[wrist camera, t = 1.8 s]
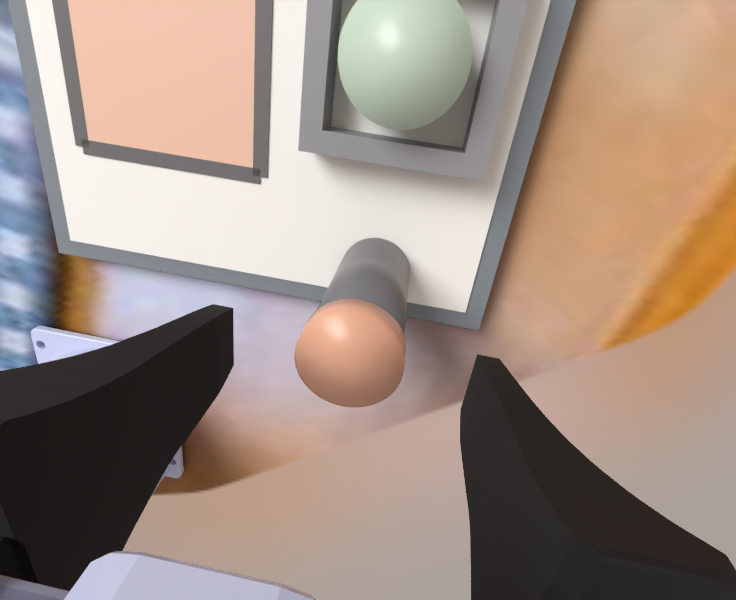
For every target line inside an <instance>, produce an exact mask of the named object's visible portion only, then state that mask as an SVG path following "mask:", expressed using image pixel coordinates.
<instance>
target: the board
mask: <svg viewBox="0 0 736 600" xmlns="http://www.w3.org/2000/svg"><path fill="white" fill-rule="evenodd" d="M357 1H358V0H8V3H9V8H10V13H11V18H12V22H13V27H14V32H15V37H16V42H17V47H18V52H19V57H20V62H21V67H22V72H23V77H24V82H25V87H26V92H27V97H28V102H29V107H30V111H31V116H32V121H33V126H34V131H35V136H36V141H37V146H38V151H39V156H40V161H41V166H42V171H43V176H44V181H45V186H46V191H47V196H48V200H49V205H50V210H51V215H52V220H53V225H54V230H55V235H56V240H57V245H58V250H59V253H63V254H69V255H74V256H80V257H85V258H90V259H96V260H101V261H107V262H112V263H117V264H123V265H128V266H134V267H139V268H144V269H150V270H155V271H161V272H166V273H171V274H177V275H182V276H188V277H193V278H198V279H204V280H209V281H215V282H220V283H225V284H231V285H236V286H242V287H247V288H252V289H258V290H263V291H269V292H274V293H279V294H285V295H290V296H296V297H301V298H306V299H312V300H317V301H322V299H323V297H324V295H325V293H326V291H327V289H328V287H329V285H330V283H331V281H332V279H333V277H334V275H335V273H336V271H337V269H338V267H339V265H340V263H341V261H342V259H343V257H344V255H345V253H346V251H347V250H348V249H349V248H350V247H351V246H352V245H353V244H355V243H356V242H358V241H360V240H363V239H366V238H381V239H385V240H388V241H390V242H392V243H394V244H395V245H397V246H398V247H399V248H400V249H401V250H402V251H403V252H404V254H405V255H406V257H407V259H408V262H409V265H410V279H409V288H408V298H407V308H406V317H409V318H414V319H420V320H425V321H431V322H436V323H441V324H447V325H452V326H458V327H463V328H468V329H474V330H479V328H480V325H481V321H482V318H483V315H484V311H485V308H486V304H487V301H488V298H489V294H490V291H491V287H492V284H493V281H494V277H495V274H496V271H497V267H498V264H499V260H500V257H501V254H502V250H503V247H504V244H505V240H506V237H507V233H508V230H509V227H510V223H511V220H512V216H513V213H514V210H515V206H516V203H517V200H518V196H519V193H520V189H521V186H522V183H523V179H524V176H525V173H526V169H527V166H528V162H529V159H530V156H531V152H532V149H533V145H534V142H535V139H536V135H537V132H538V129H539V125H540V122H541V118H542V115H543V112H544V108H545V105H546V102H547V98H548V95H549V91H550V88H551V85H552V81H553V78H554V74H555V71H556V68H557V64H558V61H559V58H560V54H561V51H562V47H563V44H564V41H565V37H566V34H567V30H568V27H569V24H570V20H571V17H572V14H573V10H574V7H575V3H576V0H457V2H458V3H459V5H460V6H461V8H462V9H463V11H464V13H465V16H466V18H467V20H468V23H469V26H470V31H471V36H472V46H473V52H472V63H471V69H470V72H469V76H468V79H467V82H466V84H465V86H464V89H463V90H462V92H461V94H460V96H459V97H458V99H457V100H456V101H455V103H454V104H453V105H452V106H451V107H450V109H449V110H448V111H447V112H445V113H444V114H443V115H442V116H441V117H439V118H438V119H436V120H435V121H433V122H431V123H429V124H427V125H425V126H422V127H419V128H415V129H410V130H395V129H390V128H385V127H383V126H380V125H377V124H376V123H374V122H372V121H370V120H369V119H367V118H366V117H365V116H363V115H362V114H361V113H360V112H359V111H358V110H357V109H356V107H355V106H354V105H353V104H352V102H351V101H350V99H349V97H348V96H347V94H346V92H345V89H344V87H343V85H342V81H341V78H340V74H339V68H338V45H339V38H340V34H341V31H342V27H343V25H344V22H345V20H346V18H347V16H348V14H349V12H350V10H351V9H352V7H353V6H354V5H355V3H356V2H357Z"/></svg>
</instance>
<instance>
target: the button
mask: <svg viewBox="0 0 736 600" xmlns="http://www.w3.org/2000/svg"><path fill="white" fill-rule="evenodd" d="M472 52H473V46H472V36H471V31H470V26H469V23H468V20H467V18H466V16H465V13H464V11H463V9H462V8H461V6H460V5H459V3H458V2H457V0H358V1H357V2H356V3H355V5H354V6H353V7H352V9H351V10H350V12H349V14H348V16H347V18H346V20H345V22H344V25H343V27H342V31H341V34H340V38H339V45H338V68H339V74H340V78H341V81H342V85H343V87H344V89H345V92H346V94H347V96H348V97H349V99H350V101H351V102H352V104H353V105H354V106H355V107H356V109H357V110H358V111H359V112H360V113H361V114H362V115H363V116H365V117H366V118H367V119H369V120H370V121H372V122H374V123H376V124H377V125H380V126H383V127H385V128H390V129H395V130H410V129H415V128H419V127H422V126H425V125H427V124H429V123H431V122H433V121H435V120H436V119H438V118H439V117H441V116H442V115H443V114H444V113H445V112H447V111H448V110H449V109H450V107H451V106H452V105H453V104H454V103H455V101H456V100H457V99H458V97H459V96H460V94H461V92H462V90H463V89H464V86H465V84H466V82H467V79H468V76H469V72H470V69H471V63H472Z"/></svg>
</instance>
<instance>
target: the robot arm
mask: <svg viewBox="0 0 736 600" xmlns="http://www.w3.org/2000/svg"><path fill="white" fill-rule="evenodd" d="M31 337H32V341H33V345H34V349H35V352H36V356H37V360H38V364H36V365H32V366H27V367H21V368H16V369H10V370H4V371H0V600H315V599H314V598H313V597H312V596H311V595H309V594H306V593H304V592H301V591H298V590H296V589H294V588H291V587H288V586H286V585H283V584H280V583H275V582H271V581H267V580H262V579H257V578H254V577H249V576H245V575H240V574H236V573H232V572H227V571H223V570H218V569H214V568H210V567H205V566H201V565H197V564H192V563H187V562H183V561H179V560H175V559H170V558H166V557H162V556H157V555H153V554H148V553H142V552H124V551H122V550H123V548H124V546H125V544H126V542H127V540H128V538H129V536H130V534H131V532H132V530H133V528H134V526H135V524H136V523H137V521H138V519H139V517H140V515H141V513H142V512H143V510H144V508H145V506H146V504H147V502H148V500H149V499H150V497H151V496H152V494H153V493H154V491H155V490H156V488H157V487H158V485H159V484H160V483H161V481H162V480H163V478H164V477H165V476H166V477H171V478H179V477H181V475H182V474H183V472H184V466H183V454H182V444H183V443H184V442H185V440H186V439H187V437H188V436H189V435H190V433H191V432H192V431H193V429H194V428H195V426H196V425H197V424H198V422H199V421H200V419H201V418H202V417H203V415H204V414H205V412H206V411H207V410H208V408H209V407H210V405H211V404H212V402H213V401H214V400H215V398H216V397H217V395H218V394H219V392H220V390H221V389H222V387H223V385H224V383H225V381H226V379H227V377H228V375H229V373H230V371H231V369H232V367H233V365H234V355H233V308H229V307H224V306H219V305H214V304H213V305H210V306H207V307H204V308H202V309H199V310H197V311H194V312H192V313H190V314H187V315H185V316H183V317H180V318H178V319H176V320H173V321H171V322H169V323H166V324H164V325H162V326H159V327H157V328H154V329H152V330H149V331H147V332H144V333H141V334H139V335H136V336H134V337H131V338H128V339H126V340H123V341H116V340H111V339H106V338H101V337H95V336H90V335H85V334H80V333H75V332H70V331H65V330H60V329H55V328H50V327H44V326H38V327H36V328H34V329H33V330H32V331H31ZM460 420H461V421H460V444H461V452H462V461H463V469H464V477H465V485H466V493H467V500H468V509H469V519H470V535H471V600H736V570H735V568H734V566H733V565H732V563H731V562H730V560H729V559H728V557H727V556H726V555H725V554H724V553H722V552H720V551H719V550H717V549H715V548H714V547H712V546H710V545H709V544H707V543H706V542H704V541H702V540H701V539H699V538H697V537H696V536H694V535H692V534H691V533H689V532H687V531H685V530H684V529H682V528H681V527H679V526H678V525H676V524H674V523H673V522H671V521H670V520H668V519H666V518H665V517H664V516H662V515H661V514H659V513H658V512H657V511H655V510H654V509H652V508H651V507H649V506H648V505H646V504H645V503H643V502H642V501H640V500H639V499H638V498H636V497H635V496H634V495H632V494H631V493H630V492H628V491H627V490H625V489H624V488H623V487H622V486H620V485H619V484H618V483H617V482H615V481H614V480H613V479H611V478H610V477H609V476H608V475H606V474H605V473H604V472H603V471H602V470H600V469H599V468H598V467H597V466H596V465H594V464H593V463H592V462H591V461H590V460H589V459H588V458H586V457H585V456H584V455H583V454H582V453H581V452H580V451H579V450H578V449H577V448H576V447H575V446H574V445H573V444H571V443H570V442H569V441H568V440H567V439H566V438H565V437H564V436H563V435H562V434H561V433H560V432H559V431H558V429H557V428H556V427H555V426H554V425H553V424H552V423H551V422H550V421H549V420H548V419H547V418H546V417H545V415H544V414H543V413H542V412H541V411H540V410H539V408H538V407H537V406H536V405H535V404H534V403H533V401H532V400H531V399H530V398H529V396H528V395H527V394H526V393H525V392H524V390H523V389H522V388H521V386H520V385H519V384H518V382H517V381H516V380H515V379H514V377H513V376H512V375H511V373H510V372H509V371H508V369H507V368H506V367H505V366H504V364H503V363H502V362H501V361H500V359H498V358H493V357H487V356H482V355H477V358H476V361H475V364H474V368H473V371H472V374H471V377H470V381H469V384H468V387H467V391H466V394H465V397H464V400H463V404H462V407H461V417H460Z"/></svg>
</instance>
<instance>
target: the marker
mask: <svg viewBox="0 0 736 600" xmlns="http://www.w3.org/2000/svg"><path fill="white" fill-rule="evenodd" d="M409 279H410V265H409V262H408V259H407V257H406V255H405V254H404V252H403V251H402V250H401V249H400V248H399V247H398V246H397V245H395V244H394V243H392V242H390V241H388V240H385V239H381V238H366V239H363V240H360V241H358V242H356V243H355V244H353V245H352V246H351V247H350V248H349V249H348V250H347V251H346V253H345V255H344V257H343V259H342V261H341V263H340V265H339V267H338V269H337V271H336V273H335V275H334V277H333V279H332V281H331V283H330V285H329V287H328V289H327V291H326V293H325V295H324V297H323V299H322V301H321V303H320V305H319V307H318V309H317V310H316V311H315V312H314V313H313V314H312V316H311V317H310V318H309V320H308V322H307V324H306V326H305V328H304V330H303V331H302V333H301V335H300V337H299V339H298V341H297V344H296V347H295V365H296V369H297V372H298V374H299V376H300V378H301V379H302V381H303V382H304V384H305V385H306V386H307V387H308V388H309V389H310V390H311V391H312V392H313V393H315V394H316V395H317V396H319V397H320V398H322V399H324V400H326V401H328V402H330V403H333V404H336V405H340V406H345V407H365V406H370V405H373V404H376V403H378V402H381V401H382V400H384V399H386V398H387V397H388V396H390V395H391V394H392V393H393V392H394V391H395V390H396V388H397V387H398V385H399V383H400V381H401V379H402V376H403V370H404V360H405V349H406V347H405V338H404V327H405V317H406V308H407V298H408V288H409Z"/></svg>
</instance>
